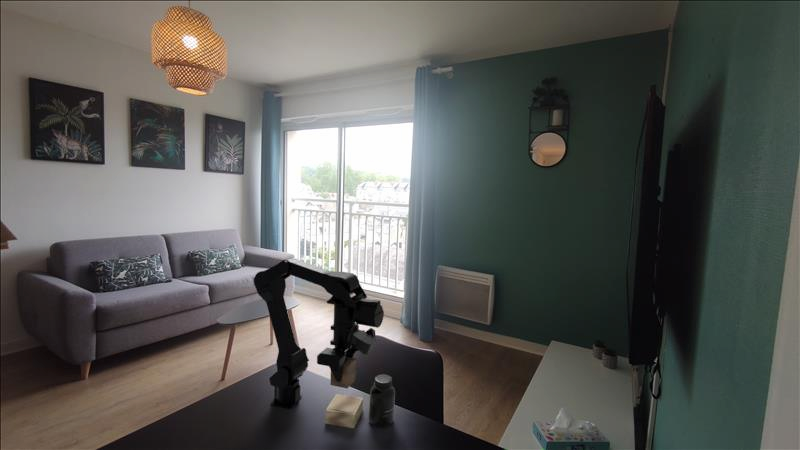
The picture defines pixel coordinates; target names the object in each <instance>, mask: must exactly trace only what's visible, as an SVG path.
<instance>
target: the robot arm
mask: <svg viewBox="0 0 800 450" xmlns="http://www.w3.org/2000/svg"><path fill="white" fill-rule="evenodd" d="M290 276H293V277H295V278H298V279H301V280H303V281H306V282H308V283H312V284H315V285H318V286H320V287H321V288H323V289H324V290H325V291H326V292H327V294H330V296H331V297H330V298H329V299H328V300H326V303H327V304H329V305H333V324H331V325H330V331H333V335H332V336H333V337H332V339H330V342H329V344H330V346H334V347H333V348H331V347H326V348H324V349H323V350H322V351H321V352H319V354H317V356H316V363H317V365H320V366H326V367H329V369H330V372H331V371H332V373H333V375H334V377H335V379H336V381H337V382H340V381H341V378H342V372H343V365H344V364H345V363H346V362H347V361H348V360H349V359H346V358H345V357H350V358H355V355H356V353H357V352H358V351H359V352H361V354H363V355H365V356H366V355H368V354H369V353H370V352H371V351H372V350H373V348H374V345H375V343H376V342H377V336H376V330H375V329H374V328H378V329H379V328H380V327H381V325H382V323H383V320H384V316H385V315H384V314H385V313H384V311H385V310H384V308H383V305H381V304H382V303H381V300H379V299H368V296H367V294H366V293H365V291H364V289H363V287H362V285H361V284H360V280H359V278H358V276H357V275H356V274H355V273H352V272H347V271H346V272H345V271H332V270H328V269H324V268H322V267H319V266H317V265H313V264H310V263H309V262H305V261H301V260H299V259H297V258H295V257H290V258H286V259H282V260H281V261H280V262H278V263H277V264H275V265H273V266H272V267H269V268H267V269H265V270H261V271H258V272H256V274H255V276H254V277H253V285H254V287H255V290H256V292H257V295H258V296H259V297H260V298H261V299H262V300H263V301H264V302H265V303H266V304H265V305H266V307H267V310H268V315H269V318H270V322H271V326H272V330H273V333H274V337H275V341H276V344H277V347H278V353H277V356H276V357H277V358H276V363H275V364H276V370H277V371H276V372H274V373H273V374H272V375H271V376H270V377H269V378H268V379H269V384H270V386H271V387H274V390H273V393H274V394H273V398H274V399H272V400H271V402H270V405H272V406H278V407H282V408H285V409H286V408H287V409H291V408H292V407H293V406H294V405H296V403H297V402H298V401H299V400H300V399H302V397H303V396H302V394H301V385H300V379H299V378H300V377H302V376H303V375H304V373H305V372H306V371H307V368H308V367H309V361H310V359H309V357H308V355H307V350H306V348H305V347H302V348H301V347H300V346H299V345H298V344H297V342H296V339H295V335H294V332H293V328H292V323H291V320H290V316H289V313H288V309H287V306H286V302H285V298H284V297H285V292H286V288H287V287H286V286H287V285H286V279H288V278H289V277H290ZM351 295H353V296H351ZM359 325H362V326H366V327H369V328H368V329H367V330H365V329H363V330H362V329H359V328H360V326H359Z"/></svg>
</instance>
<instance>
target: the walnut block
mask: <svg viewBox="0 0 800 450" xmlns="http://www.w3.org/2000/svg"><path fill="white" fill-rule="evenodd" d="M345 358H346V359H349V360H348V361H347V362H346V363H345V364H344V365H343V372H342V378H341V381H340V382H337V381H336V379H335V377H334V375H333V373H332V371H331V370H330V386H333V387H338V388H344V389H349V387H350V386H351V385H352V384H353V383H354V382H355V381H356V372H357V371H356V368H357V367H356V365H357V364H356V363H357V358H355V357H354V358H350V357H345Z"/></svg>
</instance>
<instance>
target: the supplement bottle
mask: <svg viewBox="0 0 800 450" xmlns="http://www.w3.org/2000/svg"><path fill="white" fill-rule="evenodd" d="M395 399H396V390H395V387H393V378H392V376H390V375H389V374H378V375H375V376H374V383H373V386H372V387H371V388H370V392H369V407H368V408H369V409H368V421H369V423H370V424H371V425H372V426H374V427H377V428H386V427H389V426H391V425H392V424H393V422H394V418H395V417H394V416H395V404H396V402H395V401H396V400H395Z"/></svg>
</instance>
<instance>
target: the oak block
mask: <svg viewBox="0 0 800 450" xmlns="http://www.w3.org/2000/svg"><path fill="white" fill-rule="evenodd" d="M363 410H364V398H363V397H357V396H352V395H344V394H339V393H337V394H335V396H333V399H332V400H331V402H330V403H329V405H328V406H327V408H326V409H325V421H324V422H325V424H327V425H328V424H329V425H333V426H338V427H343V428H344V427H345V428H351V429H355V427H356V425H357V423H358V421H359V419H360V418H361V415H362V413H363Z"/></svg>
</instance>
